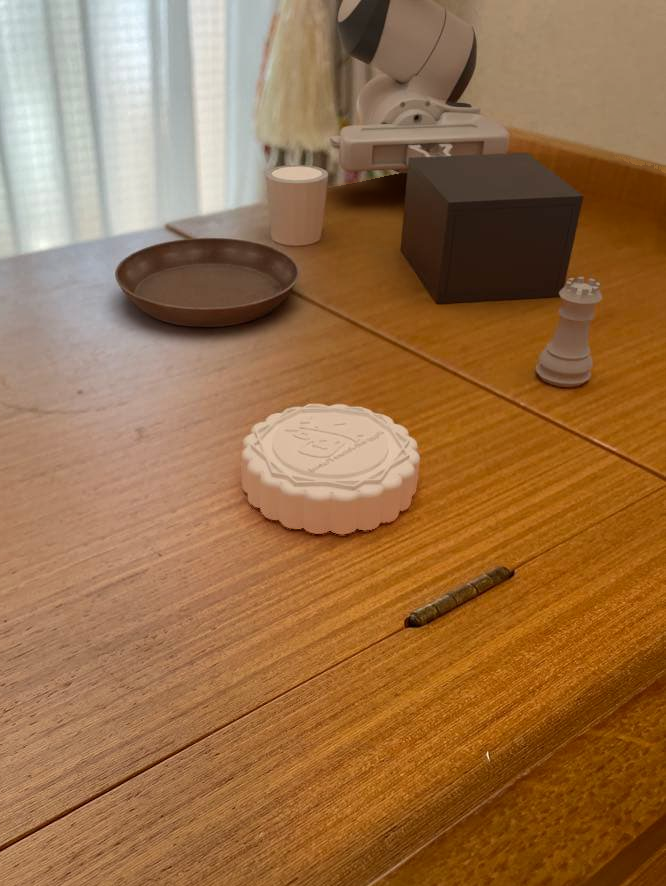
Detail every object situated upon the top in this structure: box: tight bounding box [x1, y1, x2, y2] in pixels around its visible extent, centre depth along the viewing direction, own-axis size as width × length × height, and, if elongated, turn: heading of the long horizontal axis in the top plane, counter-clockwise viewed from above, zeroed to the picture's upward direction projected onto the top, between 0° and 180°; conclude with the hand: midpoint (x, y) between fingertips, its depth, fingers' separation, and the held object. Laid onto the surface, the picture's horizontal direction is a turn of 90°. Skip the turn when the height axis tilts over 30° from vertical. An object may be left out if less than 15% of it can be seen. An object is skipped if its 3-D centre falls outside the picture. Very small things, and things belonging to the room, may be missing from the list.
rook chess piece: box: [535, 276, 604, 388], centre depth 70 cm, size 4×4×8 cm
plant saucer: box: [114, 237, 300, 328], centre depth 84 cm, size 18×18×3 cm
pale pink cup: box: [265, 164, 329, 247], centre depth 97 cm, size 7×7×7 cm
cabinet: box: [399, 152, 585, 305], centre depth 87 cm, size 15×13×10 cm
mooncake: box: [240, 403, 421, 534], centre depth 59 cm, size 12×12×4 cm
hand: (438, 164), depth 99 cm, fingers closed
